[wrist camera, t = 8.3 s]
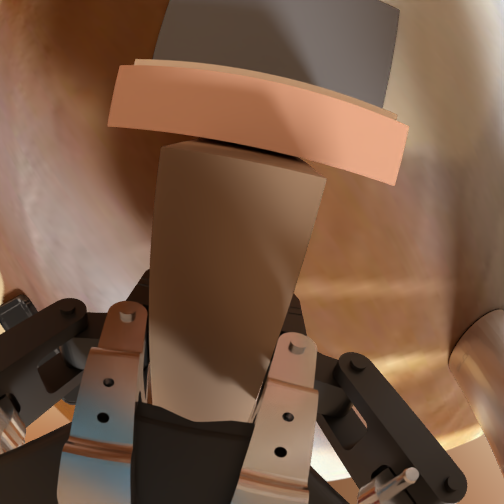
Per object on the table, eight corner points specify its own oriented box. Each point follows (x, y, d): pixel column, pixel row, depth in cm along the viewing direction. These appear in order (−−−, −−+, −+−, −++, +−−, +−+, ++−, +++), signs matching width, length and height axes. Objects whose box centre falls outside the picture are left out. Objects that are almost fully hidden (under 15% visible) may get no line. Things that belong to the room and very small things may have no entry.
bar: (296, 155, 10) (326, 179, 6) (238, 379, 15) (233, 456, 11) (203, 137, 10) (161, 147, 6) (176, 368, 15) (156, 442, 10)
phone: (21, 296, 20) (106, 404, 26) (27, 290, 22) (109, 396, 27) (-8, 311, 22) (66, 404, 27) (-3, 306, 23) (69, 398, 28)
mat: (397, 11, 12) (399, 9, 12) (377, 120, 15) (379, 120, 15) (185, -36, 11) (184, -38, 11) (151, 72, 14) (149, 71, 14)
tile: (335, 125, 16) (410, 117, 7) (327, 161, 16) (394, 185, 8) (186, 93, 15) (122, 56, 7) (178, 130, 16) (107, 126, 7)
